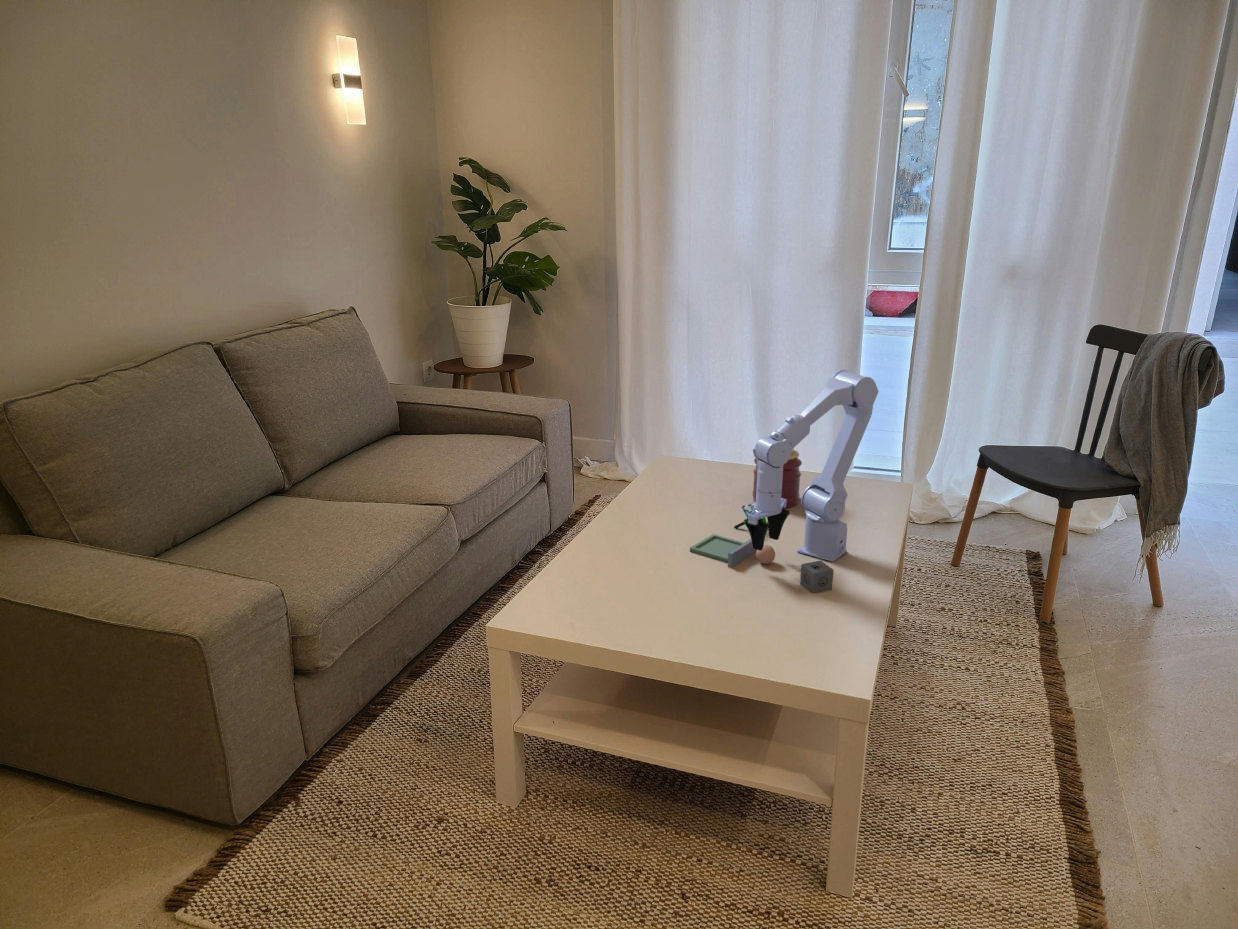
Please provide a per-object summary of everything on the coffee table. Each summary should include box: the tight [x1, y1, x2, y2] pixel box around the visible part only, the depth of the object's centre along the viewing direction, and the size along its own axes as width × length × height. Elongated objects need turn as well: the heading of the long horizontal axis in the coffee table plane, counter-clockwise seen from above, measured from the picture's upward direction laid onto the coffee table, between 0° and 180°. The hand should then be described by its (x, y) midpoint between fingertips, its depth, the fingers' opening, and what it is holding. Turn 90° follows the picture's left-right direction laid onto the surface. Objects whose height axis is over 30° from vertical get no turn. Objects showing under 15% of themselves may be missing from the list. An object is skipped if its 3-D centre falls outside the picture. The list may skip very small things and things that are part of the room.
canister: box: [752, 448, 803, 509], centre depth 239 cm, size 13×13×18 cm
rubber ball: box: [755, 544, 776, 565], centre depth 202 cm, size 4×4×4 cm
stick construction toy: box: [733, 503, 767, 529], centre depth 223 cm, size 12×7×8 cm
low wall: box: [727, 538, 757, 568], centre depth 206 cm, size 1×14×4 cm, turn 142°
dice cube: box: [799, 560, 834, 594], centre depth 190 cm, size 5×5×5 cm
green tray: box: [689, 533, 744, 564], centre depth 210 cm, size 11×11×1 cm
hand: (765, 543), depth 201 cm, fingers open, 7 cm apart
